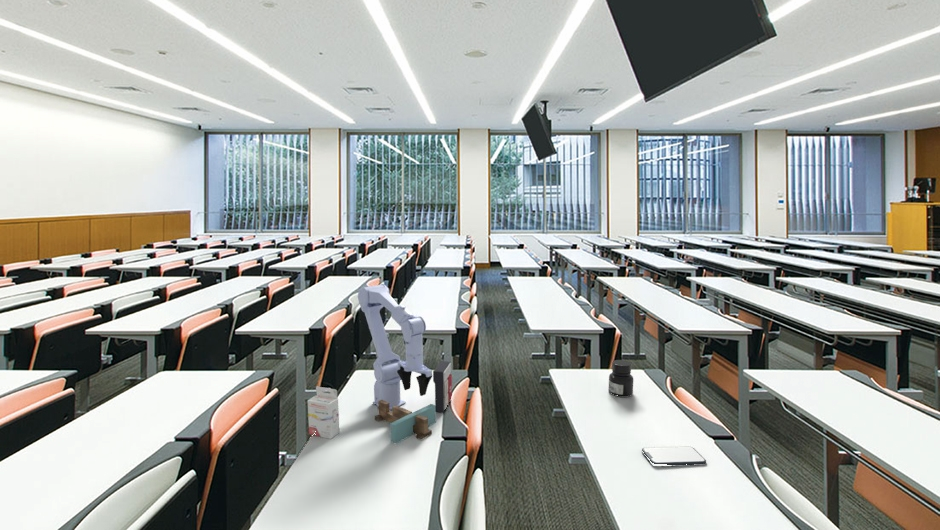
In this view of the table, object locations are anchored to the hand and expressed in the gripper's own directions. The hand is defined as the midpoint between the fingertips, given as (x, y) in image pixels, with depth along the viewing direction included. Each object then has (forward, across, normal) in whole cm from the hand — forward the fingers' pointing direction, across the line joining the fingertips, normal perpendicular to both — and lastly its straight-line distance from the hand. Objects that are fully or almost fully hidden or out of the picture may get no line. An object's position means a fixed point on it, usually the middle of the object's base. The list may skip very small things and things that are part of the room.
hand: (415, 391), depth 167 cm
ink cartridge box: (+10, -15, -26) cm, 32 cm away
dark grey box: (+10, +1, +13) cm, 16 cm away
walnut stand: (+9, +1, -7) cm, 12 cm away
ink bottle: (+10, +46, +64) cm, 79 cm away
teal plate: (+9, +6, -7) cm, 13 cm away
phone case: (+10, +76, +29) cm, 82 cm away
